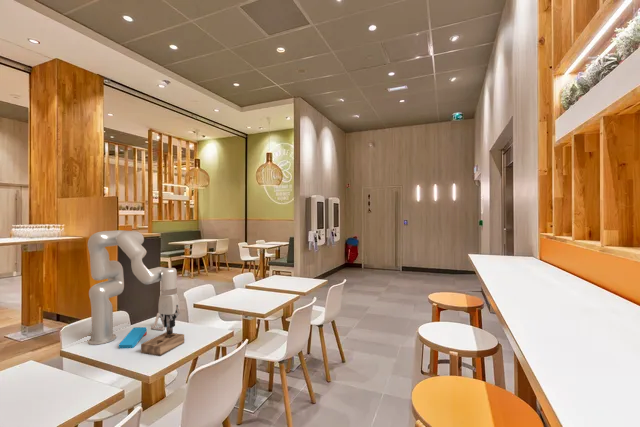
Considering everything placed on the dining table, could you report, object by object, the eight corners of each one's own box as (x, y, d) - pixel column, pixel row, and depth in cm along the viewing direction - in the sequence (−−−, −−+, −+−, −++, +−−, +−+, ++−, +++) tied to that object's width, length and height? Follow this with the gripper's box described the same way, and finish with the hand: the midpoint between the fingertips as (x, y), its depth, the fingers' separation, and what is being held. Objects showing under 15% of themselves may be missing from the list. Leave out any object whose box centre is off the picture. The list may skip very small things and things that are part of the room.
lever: (134, 356, 160) (151, 333, 177) (131, 344, 158) (149, 323, 175) (120, 356, 160) (139, 333, 177) (118, 345, 158) (137, 323, 175)
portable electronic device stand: (150, 329, 184) (150, 315, 184) (161, 325, 191) (160, 311, 191) (162, 331, 181) (162, 317, 181) (172, 326, 189) (172, 312, 189)
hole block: (141, 353, 153) (141, 343, 153) (166, 340, 168) (166, 332, 168) (160, 356, 149) (160, 346, 149) (184, 342, 164) (184, 334, 164)
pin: (165, 334, 161) (164, 315, 161) (169, 332, 164) (169, 313, 164) (169, 334, 160) (169, 315, 160) (174, 332, 163) (173, 313, 163)
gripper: (151, 292, 161) (151, 327, 161) (176, 294, 156) (176, 330, 156) (162, 289, 168) (162, 322, 168) (186, 291, 163) (187, 325, 163)
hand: (169, 326), depth 162 cm, fingers closed on pin, 3 cm apart
